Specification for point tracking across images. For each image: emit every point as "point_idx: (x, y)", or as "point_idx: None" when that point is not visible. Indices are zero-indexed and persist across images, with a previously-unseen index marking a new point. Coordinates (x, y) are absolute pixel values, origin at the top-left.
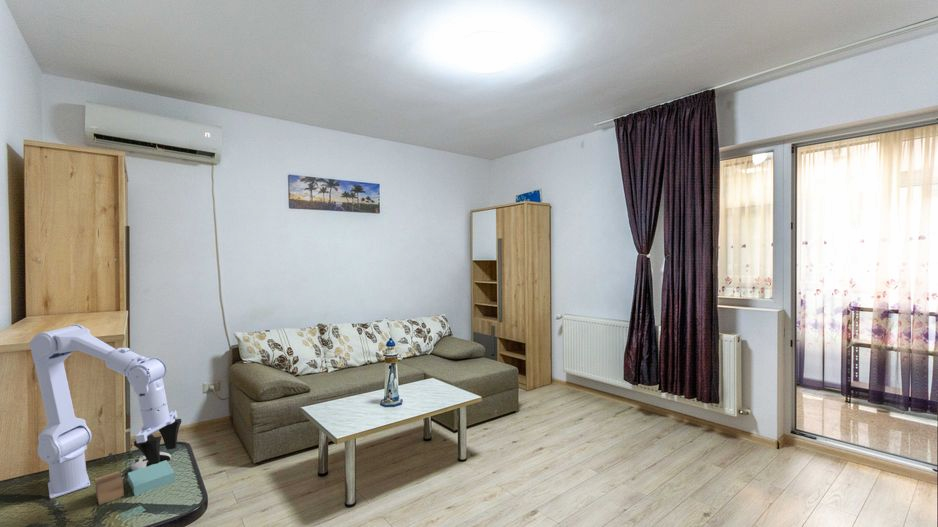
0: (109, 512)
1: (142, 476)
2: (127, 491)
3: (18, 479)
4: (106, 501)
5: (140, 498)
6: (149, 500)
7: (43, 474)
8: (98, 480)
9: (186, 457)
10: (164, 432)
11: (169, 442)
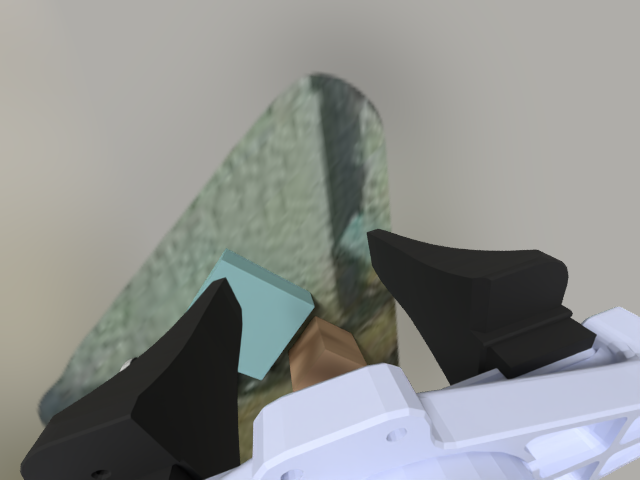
0: (372, 288)
1: (267, 329)
2: None
3: None
4: (341, 329)
5: (316, 269)
6: (319, 239)
7: None
8: None
9: (97, 326)
10: (225, 405)
11: (229, 323)
